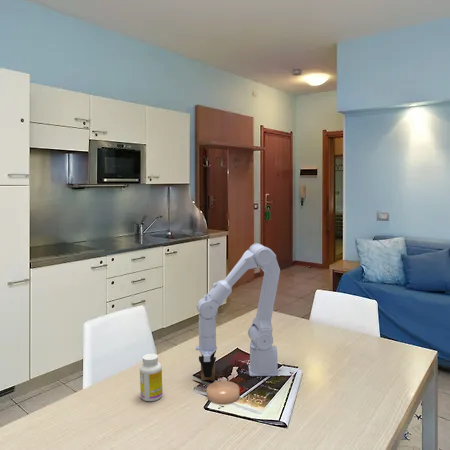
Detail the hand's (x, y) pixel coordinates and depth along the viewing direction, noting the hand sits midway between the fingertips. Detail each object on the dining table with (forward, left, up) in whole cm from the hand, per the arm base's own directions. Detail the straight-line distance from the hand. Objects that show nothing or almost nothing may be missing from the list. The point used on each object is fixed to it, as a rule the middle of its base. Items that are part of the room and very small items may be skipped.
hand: (208, 373), depth 141 cm
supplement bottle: (+17, +12, -2) cm, 21 cm away
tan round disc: (-5, +12, -2) cm, 13 cm away
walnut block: (0, 0, -1) cm, 1 cm away
